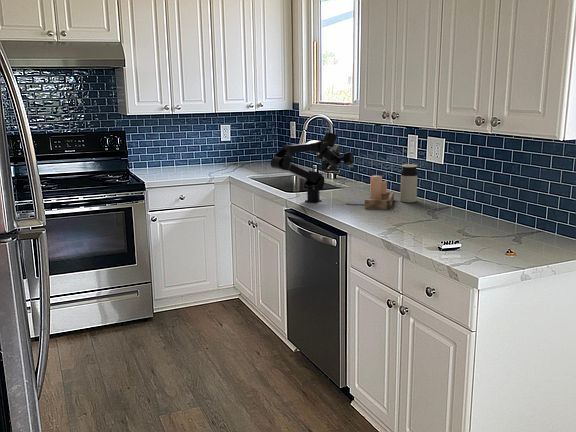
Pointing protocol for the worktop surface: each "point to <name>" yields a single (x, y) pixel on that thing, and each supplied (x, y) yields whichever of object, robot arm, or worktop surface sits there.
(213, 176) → the worktop surface
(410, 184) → the travel mug
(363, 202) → the mat
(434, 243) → the worktop surface
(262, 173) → the worktop surface
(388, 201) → the cradle
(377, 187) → the tan rounded upright piece
